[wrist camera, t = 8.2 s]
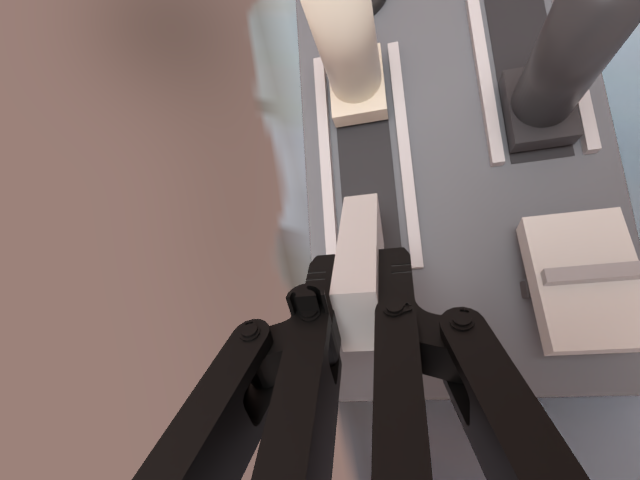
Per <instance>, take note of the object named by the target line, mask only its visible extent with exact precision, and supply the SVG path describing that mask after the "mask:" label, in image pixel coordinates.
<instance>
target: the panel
mask: <svg viewBox="0 0 640 480" xmlns="http://www.w3.org/2000/svg"><path fill="white" fill-rule="evenodd" d="M371 1H372V8H373V15H374V23H375V30H376V37H377V43H380V46H381V54H382V63H383V72H384V82H385V92H386V101H387V111H388V119H386V120H380V121H374V122H368V123H362V124H356V125H350V126H344V127H338V128H336V127H335V124H334V122H333V119H332V112H331V99H330V85H329V79H328V77H327V74H326V71H325V68H324V66H323V63H322V60H321V57H320V55H319V52H318V49H317V46H316V44H315V41H314V38H313V35H312V32H311V30H310V27H309V24H308V21H307V19H306V16H305V13H304V10H303V8H302V5H301V2H300V0H296V11H297V28H298V46H299V63H300V80H301V97H302V114H303V131H304V148H305V165H306V182H307V199H308V217H309V234H310V251H311V262H312V261H313V259H314V258H315V257H316V256H317V255H329V254H335V253H336V246H337V240H338V233H339V227H340V220H341V214H342V207H343V201H344V197H348V196H357V195H365V194H374V193H377V195H378V203H379V210H380V218H381V225H382V233H383V240H384V249H388V248H399V247H404V248H405V249H406V250H407V251H408V252H409V254H410V256H411V266H412V276H413V286H414V296H415V300H416V303H417V304H418V306H419V307H421V308H422V309H423V310H425V311H427V312H430V313H434V314H439V315H442V314H443V313H444V312H445V311H446V310H448V309H451V308H453V307H467V308H471V309H473V310H475V311H477V312H479V313H480V314H481V315H482V316H483V317H484V318H485V320H486V322H487V323H488V325H489V326H490V328H491V329H492V331H493V332H494V334H495V335H496V337H497V338H498V340H499V341H500V343H501V344H502V346H503V347H504V349H505V351H506V352H507V354H508V355H509V357H510V358H511V360H512V361H513V363H514V364H515V366H516V367H517V369H518V370H519V372H520V373H521V375H522V376H523V378H524V379H525V381H526V383H527V384H528V386H529V387H530V389H531V390H532V392H533V393H534V395H535V396H536V398H538V397H583V396H629V395H640V352H632V353H607V354H583V355H559V356H544V352H543V348H542V343H541V339H540V334H539V330H538V326H537V321H536V317H535V312H534V308H533V303H532V299H531V294H530V290H529V286H528V281H527V277H526V272H525V268H524V263H523V259H522V254H521V250H520V246H519V241H518V237H517V232H516V228H517V226H518V224H519V222H520V221H521V219H522V217H530V216H539V215H549V214H558V213H567V212H577V211H586V210H595V209H605V208H614V207H620V208H621V211H622V213H623V216H624V219H625V222H626V225H627V228H628V231H629V234H630V237H631V240H632V242H633V245H634V248H635V251H636V254H637V257H638V260H639V261H640V242H639V237H638V233H637V228H636V224H635V219H634V215H633V210H632V206H631V201H630V197H629V192H628V188H627V184H626V179H625V175H624V170H623V166H622V161H621V157H620V152H619V148H618V143H617V139H616V134H615V130H614V125H613V121H612V116H611V112H610V107H609V103H608V98H607V94H606V90H605V85H604V81H603V76H602V72H601V74H600V75H599V76H598V78H597V79H596V80H595V82H594V83H593V84H592V86H591V87H590V88H589V89H588V91H587V92H586V93H585V95H584V96H583V97H582V99H581V100H580V101H579V102H578V109H579V114H580V118H581V123H582V128H583V133H584V134H583V135H582V136H581V137H580V139H579V140H578V141H577V142H576V143H575V144H573V145H566V146H559V147H551V148H544V149H537V150H530V151H522V152H515V153H510V149H509V143H508V137H507V131H506V125H505V119H504V113H503V107H502V101H501V95H500V89H499V81H500V78H501V75H502V72H503V70H508V69H514V68H520V67H525V65H526V63H527V60H528V58H529V56H530V54H531V51H532V49H533V47H534V45H535V42H536V40H537V38H538V36H539V33H540V31H541V29H542V27H543V24H544V22H545V20H546V18H547V15H548V13H549V11H550V8H551V6H552V4H553V2H554V0H371ZM340 357H341V361H342V370H341V381H340V392H339V402H354V401H373V375H374V351H354V352H343V350H342V346H340ZM422 376H423V386H424V396H425V400H446V399H450V396H449V394H448V392H447V390H446V387H445V385H444V383H443V380H442V379H439V378H435V377H431V376H427V375H424V374H422Z"/></svg>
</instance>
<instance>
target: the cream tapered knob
mask: <svg viewBox="0 0 640 480" xmlns="http://www.w3.org/2000/svg"><path fill="white" fill-rule="evenodd" d="M300 2H301V5H302V8H303V10H304V13H305V16H306V19H307V21H308V24H309V27H310V30H311V32H312V35H313V38H314V41H315V44H316V46H317V49H318V52H319V55H320V57H321V60H322V63H323V66H324V68H325V71H326V74H327V77H328V79H329V85H330V99H331V112H332V119H333V122H334V124H335V127H336V128H338V127H344V126H350V125H356V124H362V123H368V122H374V121H380V120H386V119H388V111H387V101H386V92H385V82H384V72H383V63H382V54H381V46H380V43H377V37H376V30H375V23H374V15H373V8H372V1H371V0H300Z"/></svg>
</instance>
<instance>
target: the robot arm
mask: <svg viewBox="0 0 640 480" xmlns="http://www.w3.org/2000/svg"><path fill="white" fill-rule="evenodd" d="M286 300H287V303H288V306H289V309H290V312H291V318H290V319H288V320H286V321H284V322H282V323H278V324H275V325H272V326H269V325H268V324H267V323H266V322H265V321H263V320H261V319H252V320H249V321H245V322H244V323H242V324H241V325H239V326H238V327H237V328H236V329H235V330H234V331H233V333H232V334H231V336H230V337H229V339H228V340H227V342H226V343H225V345H224V346H223V347H222V349H221V350H220V352H219V353H218V355H217V356H216V358H215V359H214V361H213V362H212V364H211V365H210V367H209V368H208V369H207V371H206V372H205V374H204V375H203V377H202V378H201V379H200V381H199V382H198V384H197V385H196V387H195V389H194V390H193V391H192V393H191V394H190V396H189V397H188V398H187V400H186V401H185V403H184V404H183V406H182V407H181V409H180V410H179V412H178V413H177V415H176V416H175V418H174V419H173V420H172V422H171V423H170V425H169V426H168V428H167V429H166V431H165V432H164V433H163V435H162V436H161V438H160V439H159V441H158V442H157V444H156V445H155V447H154V448H153V450H152V451H151V452H150V454H149V455H148V457H147V458H146V460H145V461H144V463H143V464H142V466H141V467H140V469H139V470H138V471H137V473H136V474H135V476H134V477H133V479H132V480H241V478H242V476H243V474H244V472H245V470H246V468H247V466H248V464H249V462H250V460H251V458H252V456H253V454H254V452H255V450H256V447H257V445H258V443H259V441H260V439H261V441H260V445H259V450H258V453H257V458H256V462H255V466H254V470H253V474H252V478H251V480H331V478H332V468H333V457H334V446H335V435H336V425H337V414H338V403H339V392H340V381H341V370H342V361H341V357H340V346H342V350H343V352H354V351H374V375H373V425H372V475H371V480H433V478H432V468H431V458H430V448H429V437H428V427H427V417H426V407H425V396H424V386H423V376H422V374H424V375H427V376H431V377H435V378H439V379H442V380H443V383H444V385H445V387H446V390H447V392H448V394H449V396H450V399H451V401H452V403H453V405H454V408H455V410H456V412H457V414H458V417H459V419H460V421H461V423H462V426H463V428H464V430H465V432H466V435H467V437H468V439H469V441H470V443H471V446H472V448H473V450H474V452H475V455H476V457H477V459H478V461H479V464H480V466H481V468H482V470H483V473H484V475H485V477H486V479H487V480H590V479H589V477H588V476H587V474H586V473H585V471H584V470H583V468H582V466H581V465H580V463H579V462H578V460H577V459H576V457H575V456H574V454H573V453H572V451H571V450H570V448H569V447H568V445H567V444H566V442H565V441H564V439H563V437H562V436H561V434H560V433H559V431H558V430H557V428H556V427H555V425H554V424H553V422H552V421H551V419H550V418H549V416H548V415H547V413H546V412H545V410H544V408H543V407H542V405H541V404H540V402H539V401H538V399H537V398H536V396H535V395H534V393H533V392H532V390H531V389H530V387H529V386H528V384H527V383H526V381H525V379H524V378H523V376H522V375H521V373H520V372H519V370H518V369H517V367H516V366H515V364H514V363H513V361H512V360H511V358H510V357H509V355H508V354H507V352H506V351H505V349H504V347H503V346H502V344H501V343H500V341H499V340H498V338H497V337H496V335H495V334H494V332H493V331H492V329H491V328H490V326H489V325H488V323H487V322H486V320H485V318H484V317H483V316H482V315H481V314H480V313H479V312H477V311H475V310H473V309H471V308H467V307H453V308H451V309H448V310H446V311H445V312H444V313H443V314H442V315H439V314H434V313H430V312H427V311H425V310H423V309H422V308H421V307H419V306H418V304H417V303H416V300H415V296H414V286H413V276H412V266H411V256H410V254H409V252H408V251H407V250H406V249H405V248H404V247H399V248H388V249H384V240H383V233H382V225H381V218H380V210H379V203H378V195H377V193H374V194H365V195H357V196H348V197H344V201H343V207H342V214H341V220H340V227H339V233H338V240H337V246H336V253H335V254H329V255H317V256H316V257H315V258H314V259H313V261H312V262H311V263H310V265H309V270H308V274H307V278H306V283H305V284H302V285H299V286H297V287H295V288H293V289H292V290H291V291H290V292H289V293H288V294H287V296H286Z"/></svg>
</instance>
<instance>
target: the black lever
mask: <svg viewBox="0 0 640 480" xmlns="http://www.w3.org/2000/svg"><path fill="white" fill-rule="evenodd" d="M639 23H640V0H554V2H553V4H552V6H551V8H550V11H549V13H548V15H547V18H546V20H545V22H544V24H543V27H542V29H541V31H540V33H539V36H538V38H537V40H536V42H535V45H534V47H533V49H532V51H531V54H530V56H529V58H528V60H527V63H526V65H525V67H520V68H514V69H508V70H503V72H502V75H501V78H500V81H499V89H500V95H501V101H502V107H503V113H504V119H505V125H506V131H507V137H508V143H509V149H510V153H515V152H522V151H530V150H537V149H544V148H551V147H559V146H566V145H573V144H575V143H576V142H577V141H578V140H579V139H580V137H581V136H582V135H583V134H584V133H583V128H582V123H581V118H580V114H579V109H578V102H579V101H580V100H581V99H582V97H583V96H584V95H585V93H586V92H587V91H588V89H589V88H590V87H591V86H592V84H593V83H594V82H595V80H596V79H597V78H598V76H599V75H600V74H601V72H602V71H603V70H604V69H605V67H606V66H607V65H608V63H609V62H610V61H611V59H612V58H613V57H614V56H615V54H616V53H617V52H618V50H619V49H620V48H621V46H622V45H623V44H624V42H625V41H626V40H627V39H628V37H629V36H630V35H631V33H632V32H633V31H634V29H635V28H636V27H637V26H638V24H639Z"/></svg>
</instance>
